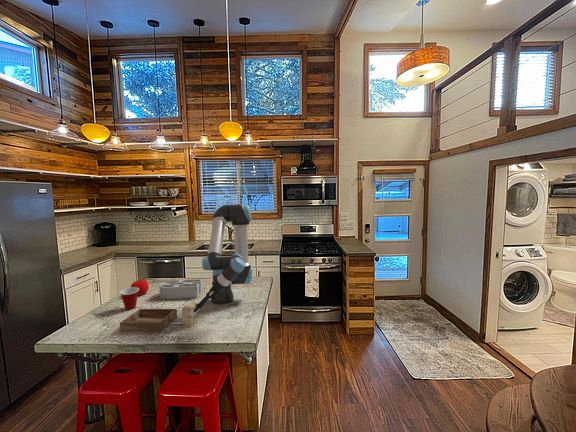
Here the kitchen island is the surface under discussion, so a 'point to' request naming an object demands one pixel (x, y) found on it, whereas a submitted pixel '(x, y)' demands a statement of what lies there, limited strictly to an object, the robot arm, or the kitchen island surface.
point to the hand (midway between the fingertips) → (195, 309)
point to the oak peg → (187, 316)
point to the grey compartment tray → (180, 289)
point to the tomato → (141, 286)
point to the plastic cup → (129, 297)
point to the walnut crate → (148, 320)
